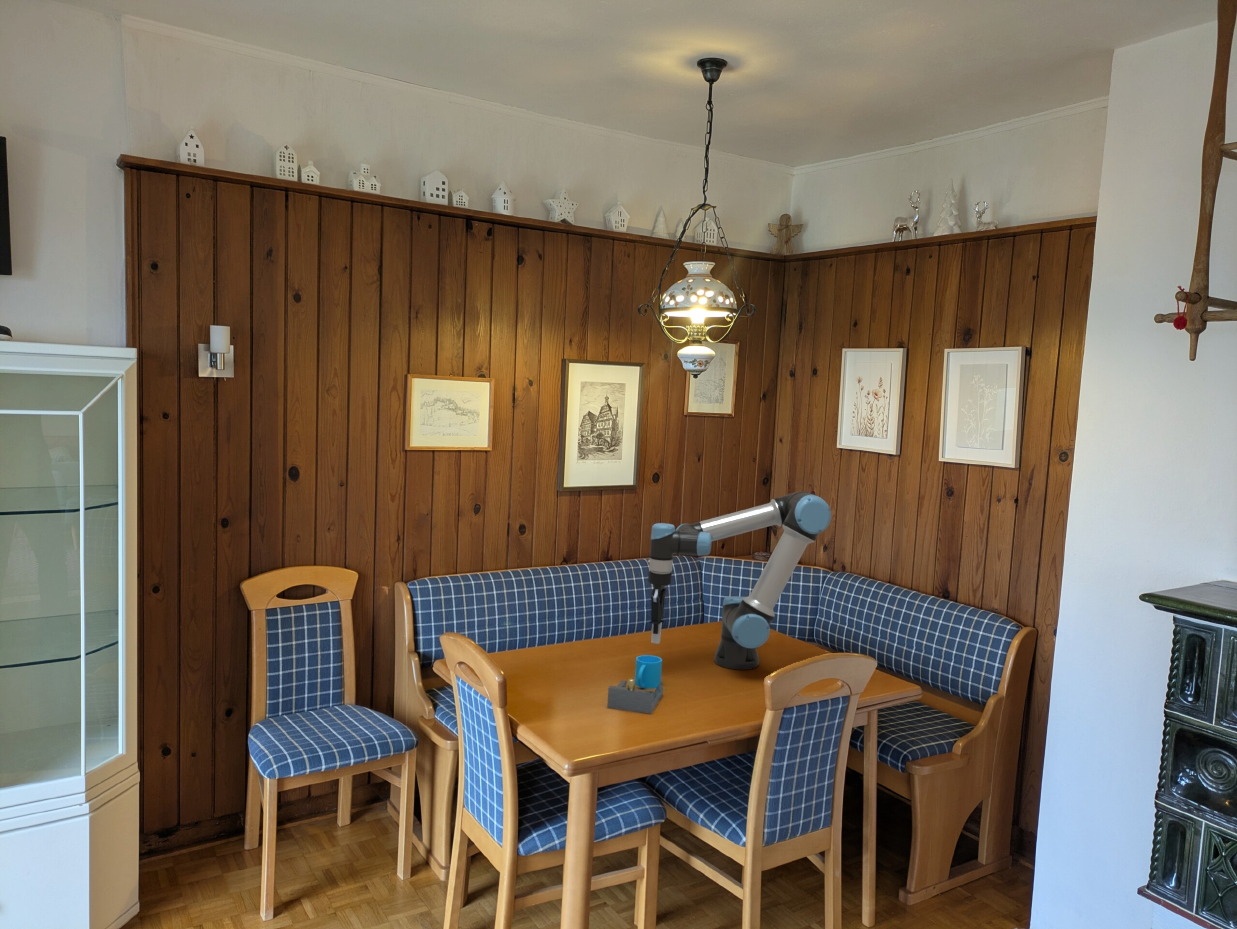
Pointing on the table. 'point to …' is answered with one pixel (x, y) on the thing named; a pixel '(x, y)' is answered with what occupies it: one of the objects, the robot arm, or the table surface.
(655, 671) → the mug
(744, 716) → the table surface
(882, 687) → the table surface
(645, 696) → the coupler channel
